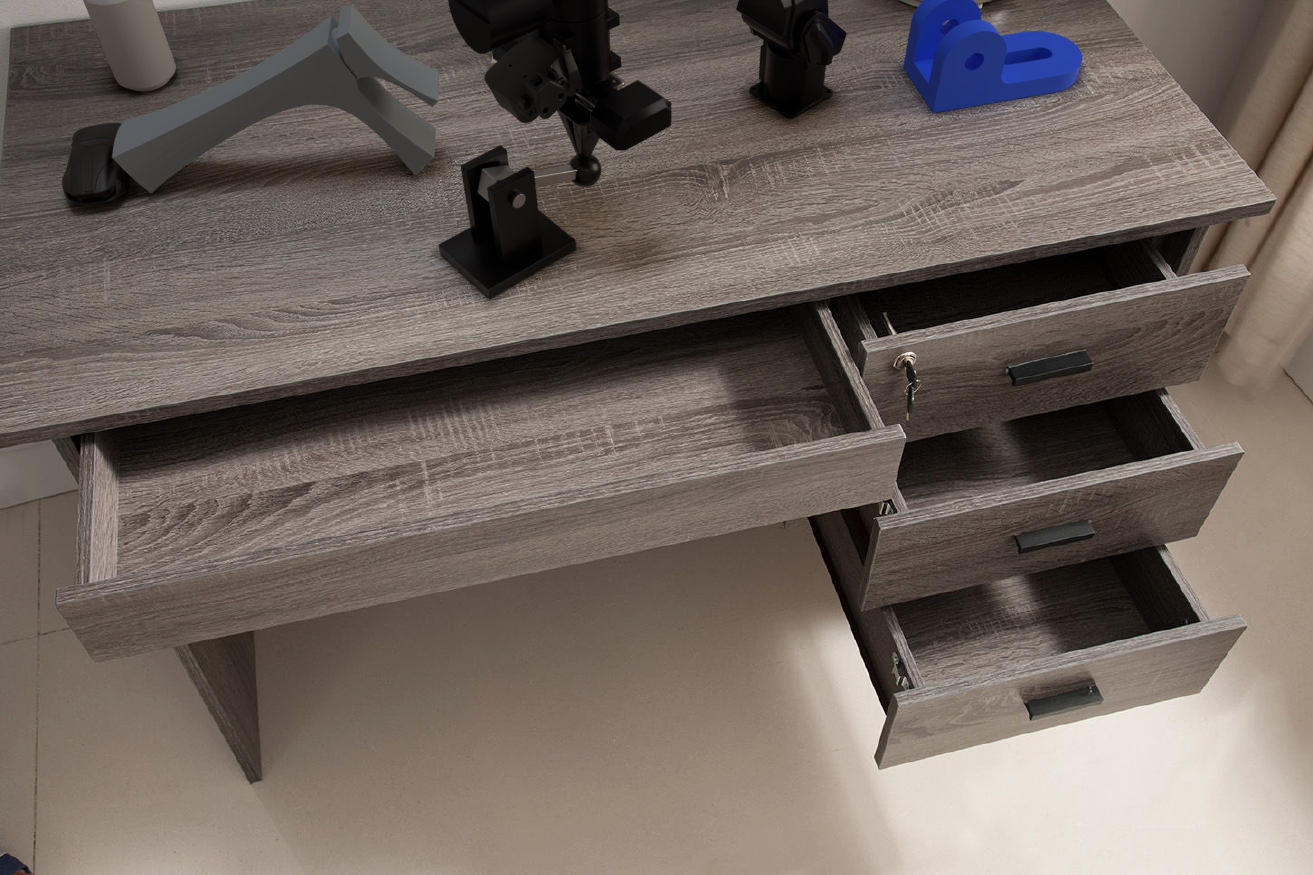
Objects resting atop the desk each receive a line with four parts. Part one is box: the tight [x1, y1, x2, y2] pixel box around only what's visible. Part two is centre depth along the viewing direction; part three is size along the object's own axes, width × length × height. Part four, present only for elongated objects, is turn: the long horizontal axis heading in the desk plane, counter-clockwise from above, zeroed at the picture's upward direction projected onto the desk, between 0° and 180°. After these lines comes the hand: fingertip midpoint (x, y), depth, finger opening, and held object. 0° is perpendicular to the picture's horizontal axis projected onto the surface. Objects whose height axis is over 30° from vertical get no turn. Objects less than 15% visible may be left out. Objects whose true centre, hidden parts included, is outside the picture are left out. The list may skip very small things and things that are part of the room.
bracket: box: [902, 0, 1083, 114], centre depth 128 cm, size 18×8×9 cm, turn 105°
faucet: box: [112, 3, 441, 194], centre depth 120 cm, size 6×17×30 cm
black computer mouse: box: [61, 122, 130, 206], centre depth 121 cm, size 6×12×4 cm, turn 9°
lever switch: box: [438, 144, 577, 300], centre depth 111 cm, size 10×8×10 cm
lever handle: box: [478, 153, 602, 202], centre depth 112 cm, size 13×3×3 cm, turn 131°
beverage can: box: [82, 0, 177, 92], centre depth 128 cm, size 6×6×12 cm
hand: (584, 155), depth 114 cm, fingers closed, pressing on lever handle
